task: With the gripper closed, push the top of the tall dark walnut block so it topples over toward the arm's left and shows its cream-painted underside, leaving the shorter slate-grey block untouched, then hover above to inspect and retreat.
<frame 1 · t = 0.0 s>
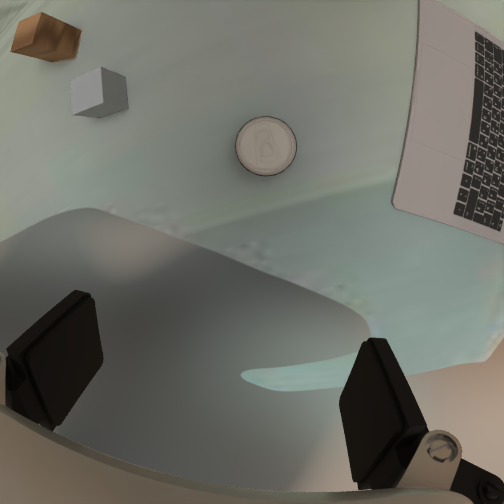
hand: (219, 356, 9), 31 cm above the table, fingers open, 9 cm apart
beverage can: (268, 147, 37), on the table
walnut block: (67, 46, 32), on the table
laptop: (476, 119, 33), on the table
slate block: (112, 97, 35), on the table
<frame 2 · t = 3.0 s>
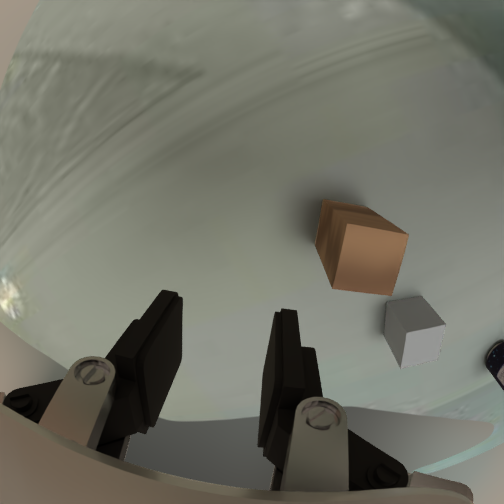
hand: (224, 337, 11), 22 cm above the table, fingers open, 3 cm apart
beverage can: (495, 352, 36), on the table
walnut block: (341, 225, 31), on the table
slate block: (402, 315, 34), on the table
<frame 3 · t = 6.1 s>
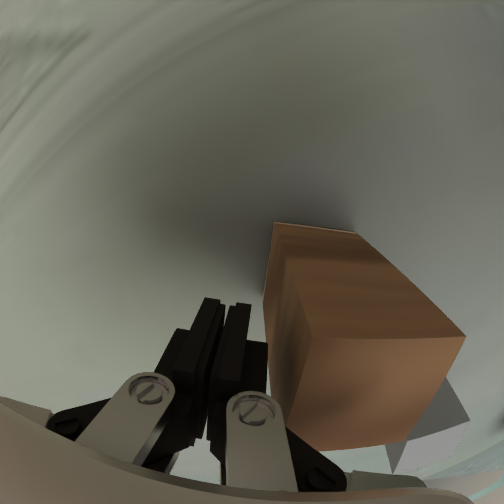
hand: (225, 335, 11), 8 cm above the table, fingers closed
walnut block: (309, 267, 18), on the table, tilted 5°
slate block: (406, 389, 21), on the table
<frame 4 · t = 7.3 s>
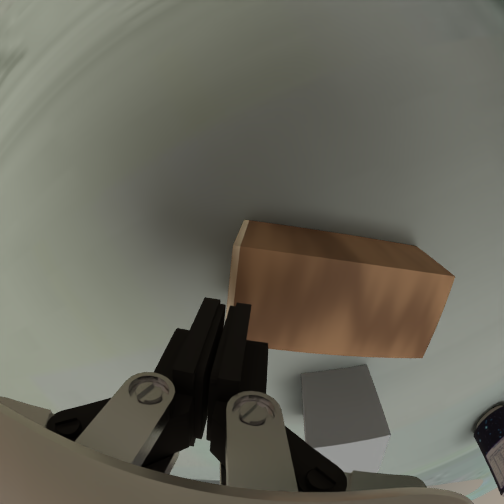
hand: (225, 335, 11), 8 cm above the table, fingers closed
beverage can: (489, 416, 23), on the table
walnut block: (234, 276, 16), point 2 cm above the table, tilted 90°
slate block: (333, 391, 21), on the table
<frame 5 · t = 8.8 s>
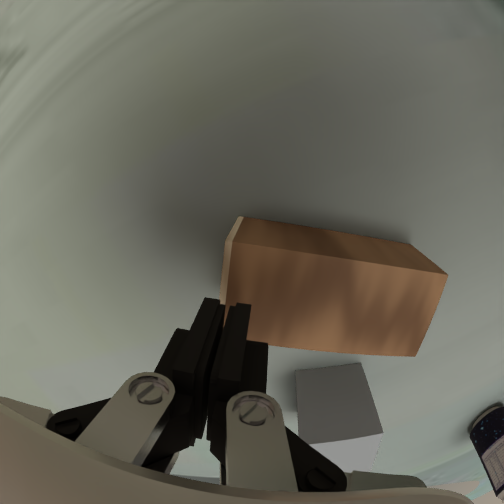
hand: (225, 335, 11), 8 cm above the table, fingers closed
beverage can: (485, 417, 23), on the table
walnut block: (227, 271, 16), point 2 cm above the table, tilted 90°
slate block: (327, 389, 21), on the table
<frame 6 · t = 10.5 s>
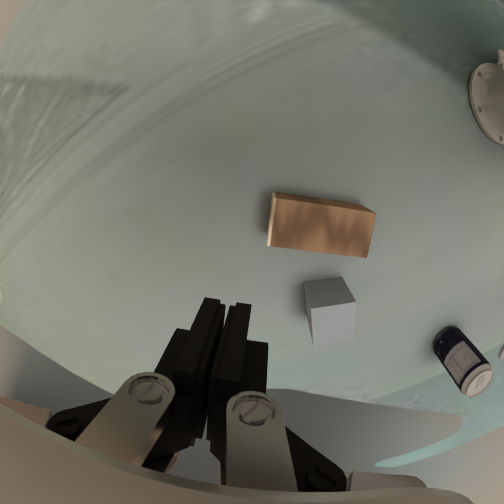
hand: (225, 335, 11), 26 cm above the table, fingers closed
beverage can: (445, 338, 40), on the table
walnut block: (269, 217, 33), point 2 cm above the table, tilted 90°
slate block: (324, 296, 38), on the table
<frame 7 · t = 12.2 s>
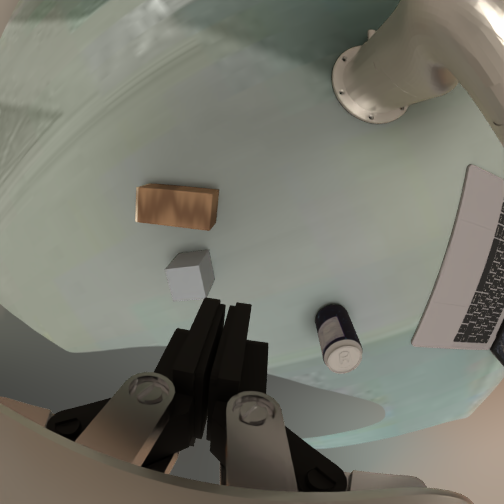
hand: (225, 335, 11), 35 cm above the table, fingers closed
beverage can: (330, 316, 49), on the table
walnut block: (142, 201, 42), point 2 cm above the table, tilted 90°
laptop: (485, 269, 45), on the table
slate block: (196, 266, 48), on the table
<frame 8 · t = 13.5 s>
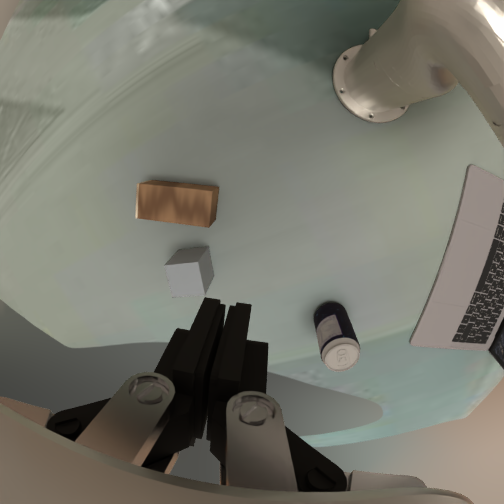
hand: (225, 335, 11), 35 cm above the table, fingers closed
beverage can: (329, 314, 50), on the table
walnut block: (143, 198, 43), point 2 cm above the table, tilted 90°
laptop: (485, 269, 45), on the table
slate block: (196, 262, 48), on the table
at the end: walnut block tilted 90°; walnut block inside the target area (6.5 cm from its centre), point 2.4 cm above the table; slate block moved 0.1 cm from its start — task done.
